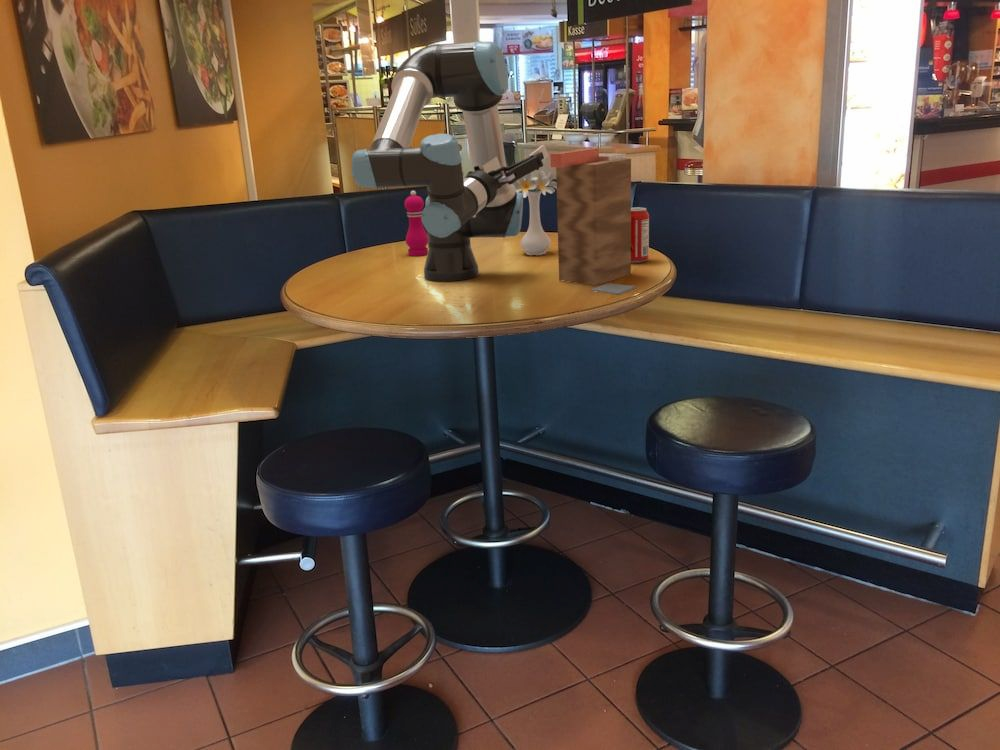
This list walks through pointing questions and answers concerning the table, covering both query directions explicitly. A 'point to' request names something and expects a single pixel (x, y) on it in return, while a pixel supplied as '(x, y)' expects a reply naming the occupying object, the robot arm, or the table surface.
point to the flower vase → (535, 210)
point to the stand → (594, 221)
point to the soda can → (639, 235)
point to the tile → (613, 288)
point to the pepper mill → (415, 226)
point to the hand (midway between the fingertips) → (521, 156)
